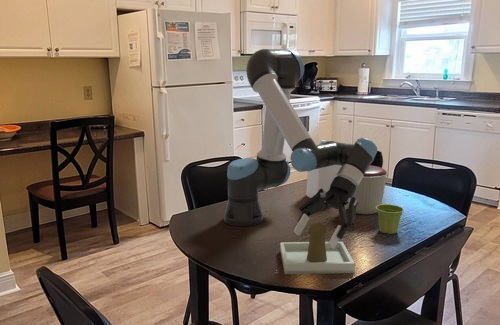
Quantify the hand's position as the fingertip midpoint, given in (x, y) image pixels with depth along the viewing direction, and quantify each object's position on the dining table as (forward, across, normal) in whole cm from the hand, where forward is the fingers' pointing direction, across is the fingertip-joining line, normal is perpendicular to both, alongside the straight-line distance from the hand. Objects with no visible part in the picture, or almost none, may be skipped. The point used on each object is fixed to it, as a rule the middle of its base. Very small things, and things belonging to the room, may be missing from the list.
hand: (312, 239), depth 130 cm
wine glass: (-46, +31, -58) cm, 80 cm away
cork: (+4, 0, -6) cm, 7 cm away
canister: (-31, +19, -42) cm, 56 cm away
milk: (-33, +42, -44) cm, 69 cm away
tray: (+4, 0, -6) cm, 8 cm away
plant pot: (-23, 0, -34) cm, 41 cm away
